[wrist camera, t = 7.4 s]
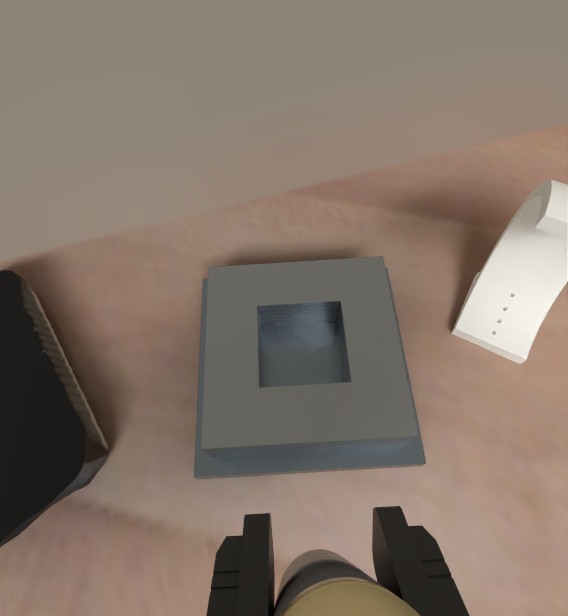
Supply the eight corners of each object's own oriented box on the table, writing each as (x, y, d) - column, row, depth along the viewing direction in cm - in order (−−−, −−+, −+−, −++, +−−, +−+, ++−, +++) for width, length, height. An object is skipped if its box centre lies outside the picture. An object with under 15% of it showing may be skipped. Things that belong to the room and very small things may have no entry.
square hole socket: (198, 479, 24) (180, 471, 20) (205, 286, 30) (193, 255, 27) (421, 465, 24) (442, 455, 20) (384, 275, 30) (395, 242, 26)
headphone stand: (450, 333, 28) (543, 214, 17) (478, 266, 30) (575, 125, 19) (520, 364, 27) (666, 258, 16) (543, 292, 29) (684, 157, 18)
